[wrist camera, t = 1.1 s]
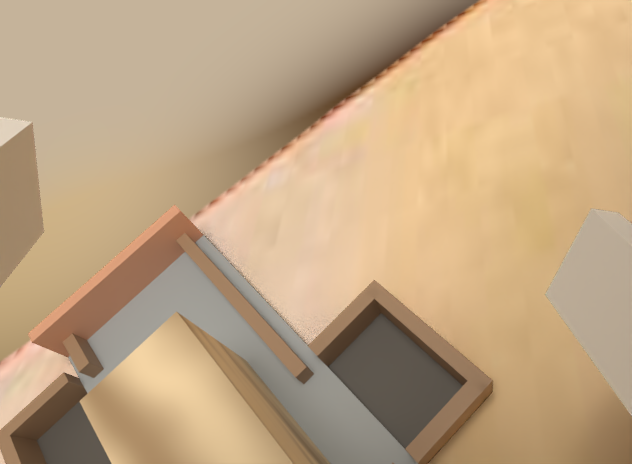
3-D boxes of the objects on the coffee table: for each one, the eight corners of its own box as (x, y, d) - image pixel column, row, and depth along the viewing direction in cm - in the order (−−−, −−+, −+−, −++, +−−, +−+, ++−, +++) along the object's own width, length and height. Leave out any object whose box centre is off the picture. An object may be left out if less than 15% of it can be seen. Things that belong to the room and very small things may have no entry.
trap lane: (256, 188, 46) (233, 153, 42) (570, 459, 29) (585, 447, 25) (12, 408, 42) (-42, 394, 38) (209, 889, 24) (150, 965, 20)
